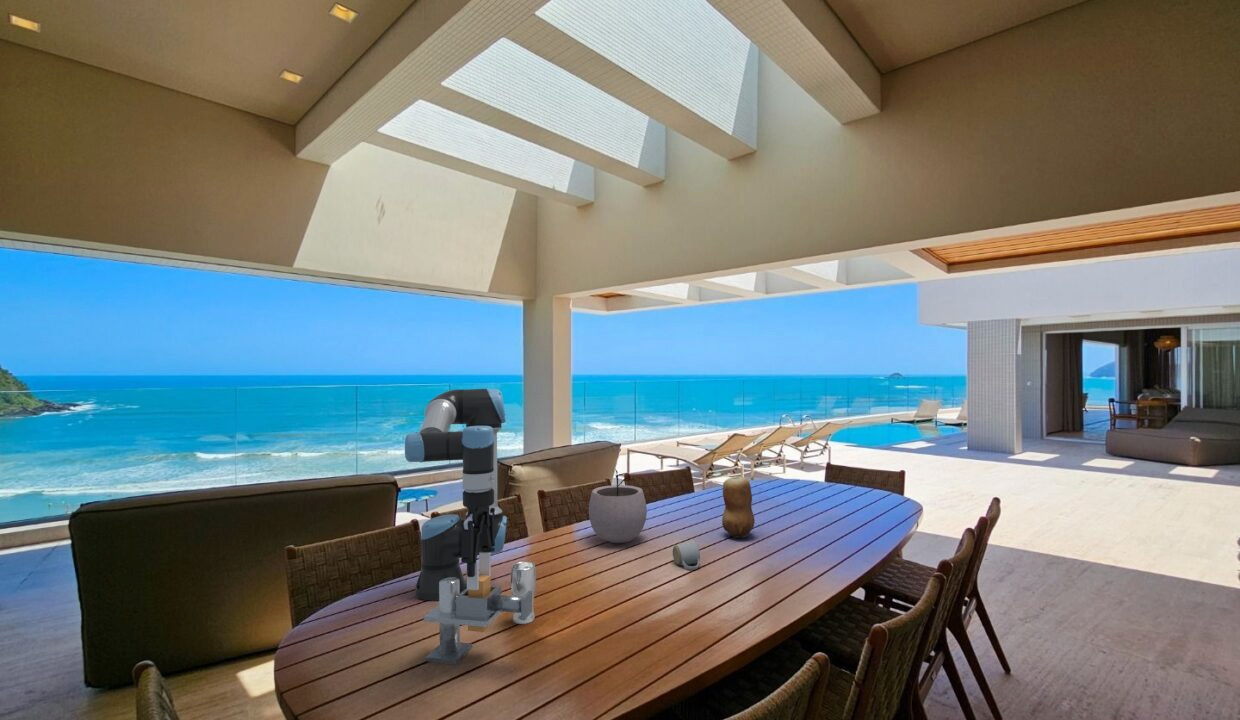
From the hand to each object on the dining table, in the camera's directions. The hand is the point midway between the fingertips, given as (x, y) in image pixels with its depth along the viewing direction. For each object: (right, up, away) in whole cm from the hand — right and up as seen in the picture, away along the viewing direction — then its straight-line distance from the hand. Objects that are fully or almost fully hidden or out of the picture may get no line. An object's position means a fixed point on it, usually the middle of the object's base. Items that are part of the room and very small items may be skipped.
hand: (479, 583), depth 130 cm
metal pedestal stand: (-3, -18, 0) cm, 18 cm away
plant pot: (+34, -20, +89) cm, 97 cm away
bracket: (+4, -7, -1) cm, 8 cm away
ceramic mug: (+59, -19, +60) cm, 86 cm away
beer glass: (+7, -18, +19) cm, 28 cm away
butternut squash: (+85, -19, +91) cm, 126 cm away
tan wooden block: (0, -11, 0) cm, 11 cm away
